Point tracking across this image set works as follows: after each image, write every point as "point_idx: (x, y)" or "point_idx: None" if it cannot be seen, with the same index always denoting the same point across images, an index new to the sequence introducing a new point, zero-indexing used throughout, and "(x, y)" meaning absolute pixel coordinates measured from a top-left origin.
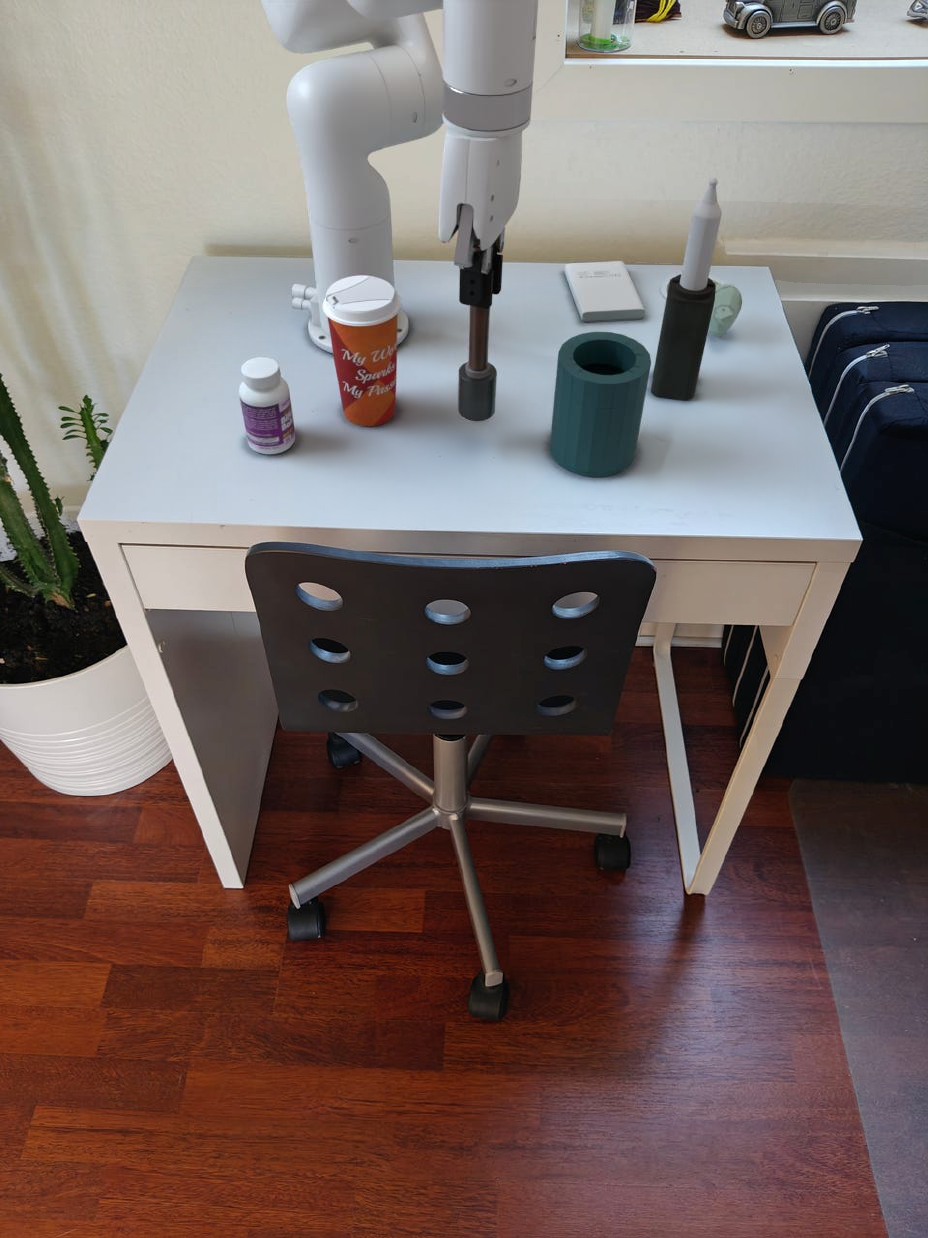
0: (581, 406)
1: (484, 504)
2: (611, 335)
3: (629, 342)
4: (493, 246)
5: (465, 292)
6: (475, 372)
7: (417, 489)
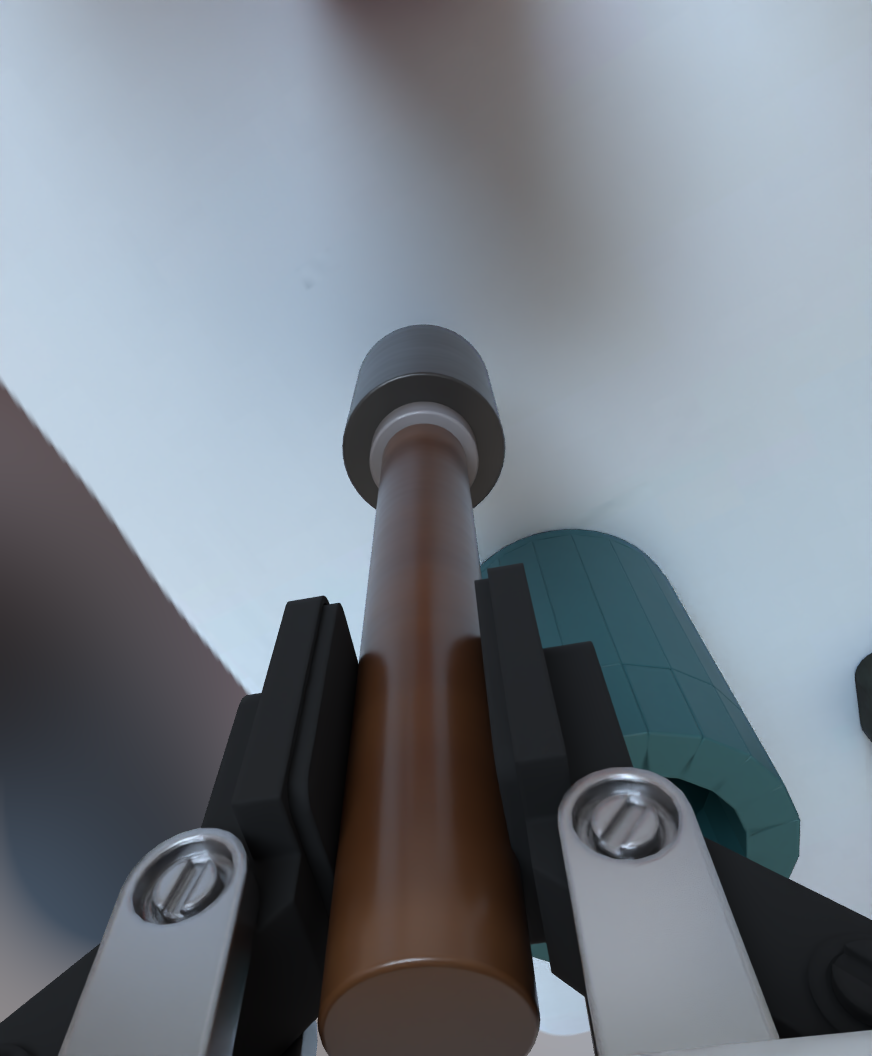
0: None
1: (207, 504)
2: (778, 834)
3: None
4: (578, 987)
5: (237, 725)
6: (374, 478)
7: (134, 309)
